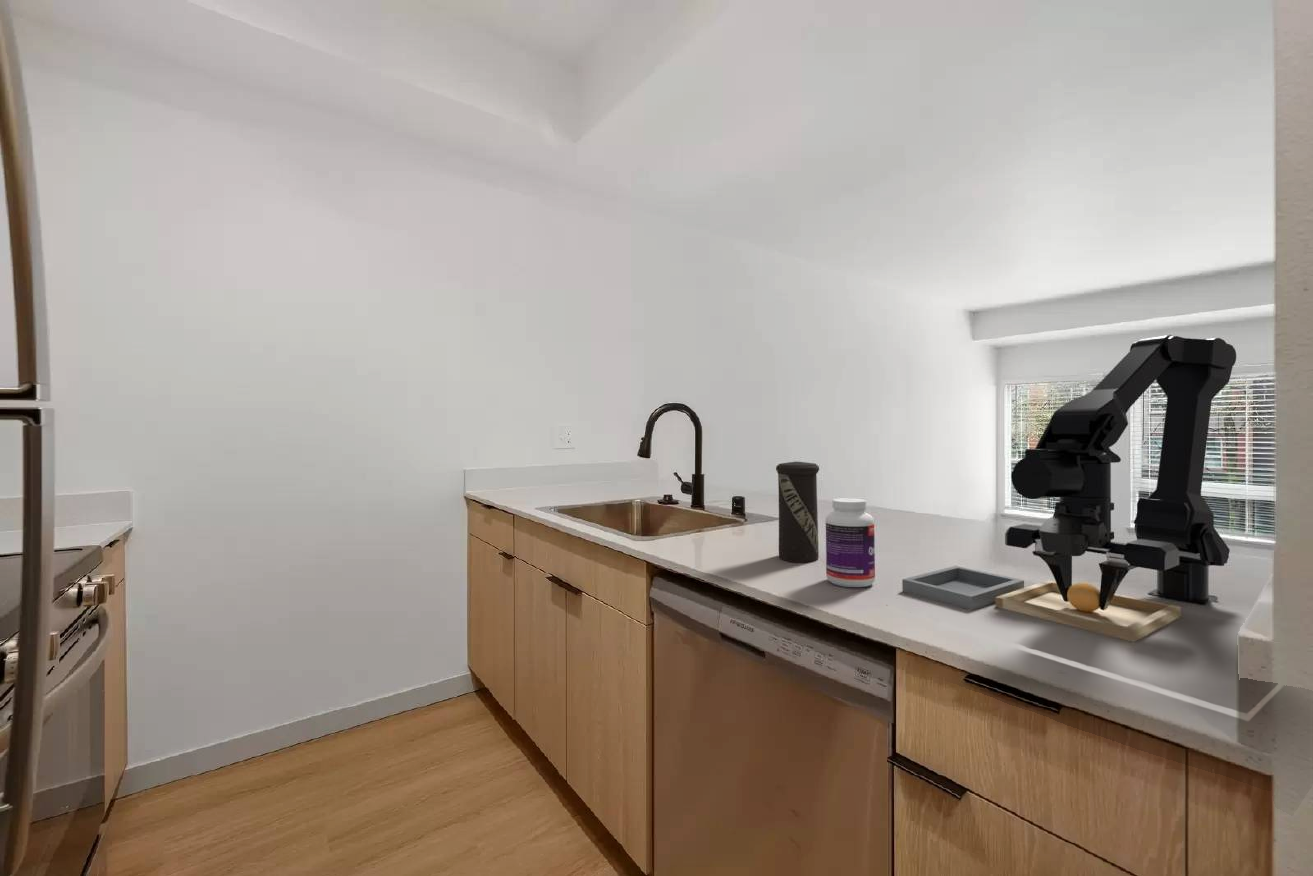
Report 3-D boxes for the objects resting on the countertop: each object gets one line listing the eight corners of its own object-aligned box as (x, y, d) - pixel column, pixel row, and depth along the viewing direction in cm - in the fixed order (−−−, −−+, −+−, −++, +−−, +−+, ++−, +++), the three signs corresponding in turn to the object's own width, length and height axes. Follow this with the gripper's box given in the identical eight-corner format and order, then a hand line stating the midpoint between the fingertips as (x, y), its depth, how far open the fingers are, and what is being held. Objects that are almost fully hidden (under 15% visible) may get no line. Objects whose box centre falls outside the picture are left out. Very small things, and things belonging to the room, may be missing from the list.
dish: (1048, 591, 88) (1048, 580, 88) (1180, 620, 75) (1180, 606, 75) (995, 609, 80) (995, 597, 80) (1133, 645, 66) (1133, 631, 66)
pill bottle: (879, 590, 90) (878, 503, 90) (828, 588, 92) (827, 502, 92) (870, 577, 98) (869, 497, 98) (823, 575, 100) (823, 496, 99)
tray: (955, 579, 96) (955, 565, 96) (1024, 595, 86) (1024, 580, 86) (902, 594, 88) (902, 579, 88) (971, 613, 79) (971, 596, 79)
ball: (1074, 604, 80) (1074, 577, 80) (1108, 612, 77) (1108, 584, 77) (1061, 609, 78) (1061, 582, 78) (1095, 617, 75) (1095, 588, 75)
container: (778, 562, 110) (777, 463, 109) (775, 552, 119) (774, 460, 118) (822, 563, 108) (821, 462, 108) (817, 553, 117) (816, 460, 117)
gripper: (985, 493, 81) (985, 598, 81) (1147, 508, 65) (1147, 638, 65) (1023, 488, 87) (1023, 586, 87) (1180, 500, 71) (1180, 620, 71)
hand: (1084, 605), depth 77 cm, fingers closed on ball, 4 cm apart
